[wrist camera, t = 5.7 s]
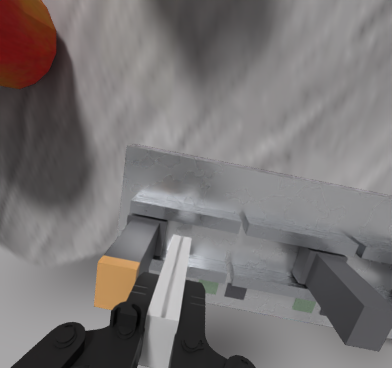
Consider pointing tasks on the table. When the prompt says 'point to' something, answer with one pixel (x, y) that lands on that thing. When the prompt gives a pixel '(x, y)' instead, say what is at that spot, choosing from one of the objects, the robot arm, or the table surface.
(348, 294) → the breaker mid
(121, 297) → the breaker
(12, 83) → the apple
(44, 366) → the robot arm
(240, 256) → the breaker panel
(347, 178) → the table surface
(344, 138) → the table surface
